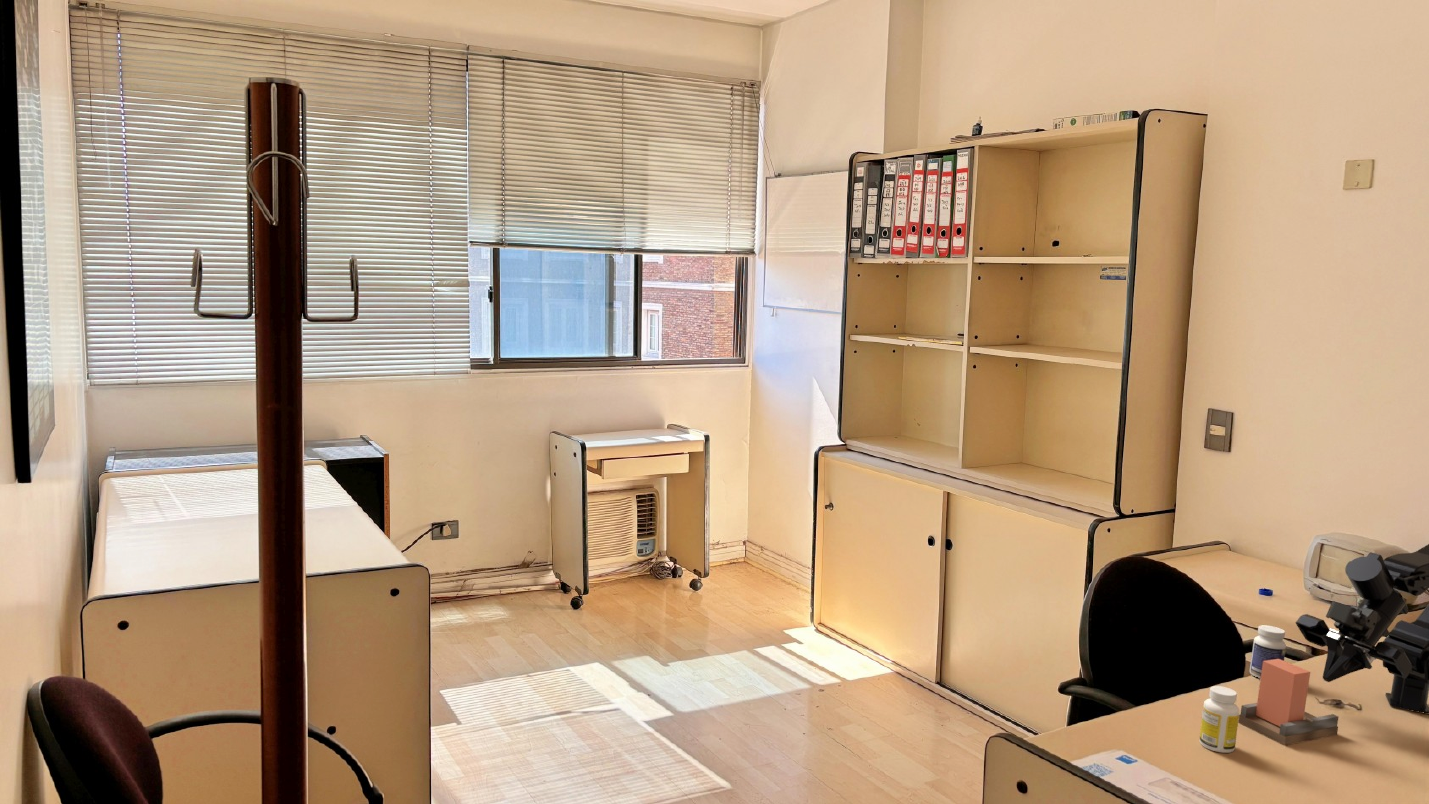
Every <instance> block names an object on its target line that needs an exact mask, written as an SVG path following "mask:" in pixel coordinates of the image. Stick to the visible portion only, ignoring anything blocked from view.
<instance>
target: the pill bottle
mask: <svg viewBox="0 0 1429 804" xmlns="http://www.w3.org/2000/svg"><path fill="white" fill-rule="evenodd" d="M1257 628H1258V629H1257V633H1258V635H1257V636H1255V637H1254V639H1253V642H1252V643H1253V644H1252V651H1251V658H1250V664H1249V673H1250V675H1251V676H1253V677H1254V676H1255V678H1256V677H1258V678H1257V679H1259V680H1261V673H1262V665H1263V661H1267V660H1274V659H1281V660H1283V661H1285V656H1286V651H1287V645H1286V643H1285V641H1284V640H1283V639H1285V637H1286V631H1285V630H1284V629H1282V628H1279V627H1276V626H1274V625H1273V626H1272V625H1268V624H1267V625H1266V624H1265V625H1262V624H1261V625H1258V627H1257Z"/></svg>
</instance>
